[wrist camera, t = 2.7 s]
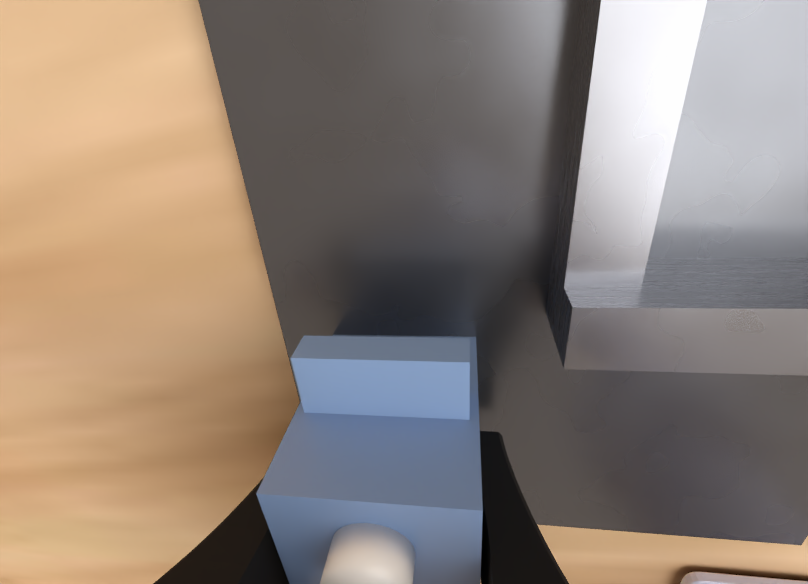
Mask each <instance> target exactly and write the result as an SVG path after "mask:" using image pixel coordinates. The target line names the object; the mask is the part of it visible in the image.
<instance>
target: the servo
mask: <svg viewBox="0 0 808 584" xmlns="http://www.w3.org/2000/svg"><path fill="white" fill-rule="evenodd" d="M291 362H292V366H293V370H294V374H295V378H296V382H297V386H298V390H299V394H300V398H301V402H300V404H299V406H298V408H297V410H296V412H295V414H294V416H293V418H292V420H291V422H290V425H289V427H288V429H287V431H286V433H285V435H284V437H283V439H282V441H281V443H280V445H279V447H278V449H277V452H276V454H275V456H274V458H273V460H272V462H271V464H270V466H269V468H268V470H267V472H266V474H265V476H264V478H263V481H262V483H261V485H260V487H259V489H258V491H257V493H256V495H257V497H258V500H259V503H260V506H261V508H262V511H263V514H264V516H265V519H266V522H267V524H268V527H269V530H270V532H271V535H272V538H273V540H274V543H275V546H276V549H277V551H278V554H279V557H280V559H281V562H282V565H283V567H284V570H285V573H286V575H287V578H288V581H289V584H480V580H481V549H482V519H483V504H482V478H481V453H480V427H479V401H478V375H477V349H476V337H455V336H392V335H332V336H305V335H304V336H303V338H302V339H301V341H300V343H299V344H298V346H297V348H296V350H295V351H294V353H293V355H292V356H291Z"/></svg>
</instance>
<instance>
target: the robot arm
mask: <svg viewBox="0 0 808 584" xmlns="http://www.w3.org/2000/svg"><path fill="white" fill-rule="evenodd" d="M480 453H481V478H482V504H483V519H482V549H481V584H569V583H568V581H567V579H566V578H565V576H564V574H563V573H562V571H561V569H560V567H559V566H558V564H557V562H556V560H555V558H554V557H553V555H552V553H551V551H550V549H549V547H548V545H547V544H546V542H545V540H544V538H543V536H542V534H541V532H540V530H539V528H538V526H537V524H536V522H535V520H534V518H533V516H532V514H531V511H530V509H529V507H528V505H527V503H526V500H525V498H524V496H523V494H522V492H521V489H520V487H519V484H518V482H517V480H516V477H515V474H514V472H513V469H512V467H511V464H510V461H509V458H508V455H507V452H506V449H505V445H504V441H503V437H502V435H501V434H500V433H499V432H492V431H480ZM262 481H263V479H262V480H261V481H260V482H259V483H258V485H257V486H256V487H255V488H254V489H253V490H252V491H251V492H250V493H249V495H248V496H247V497H246V498H245V499H244V500H243V501H242V502H241V503H240V504H239V505H238V506H237V507H236V508H235V509H234V510H233V511H232V512H231V513H230V515H229V516H228V517H227V518H226V519H225V520H224V521H223V522H222V523H221V524H220V525H219V526H218V527H217V528H216V529H215V530H213V531H212V532H211V533H210V534H209V535H208V536H207V537H206V538H205V539H204V540H203V541H202V542H201V543H200V544H199V545H198V546H196V547H195V548H194V549H193V550H192V551H191V552H190V553H189V554H188V555H186V556H185V557H184V558H183V559H182V560H181V561H180V562H178V563H177V564H176V565H175V566H174V567H173V568H171V569H170V570H169V571H168V572H167V573H166V574H164V575H163V576H162V577H161V578H160V579H158V580H157V581H156V582H155V583H154V584H289V581H288V578H287V575H286V573H285V570H284V567H283V565H282V562H281V559H280V557H279V554H278V551H277V549H276V546H275V543H274V540H273V538H272V535H271V532H270V530H269V527H268V524H267V522H266V519H265V516H264V514H263V511H262V508H261V506H260V503H259V500H258V497H257V495H256V493H257V491H258V489H259V487H260V485H261V483H262ZM680 584H808V581H799V580H788V579H777V578H766V577H754V576H743V575H732V574H721V573H710V572H690V573H688V574H686V575H685V576H684V577H683V579H682V581H681V583H680Z"/></svg>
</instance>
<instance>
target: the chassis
mask: <svg viewBox="0 0 808 584" xmlns="http://www.w3.org/2000/svg"><path fill="white" fill-rule="evenodd" d="M199 4H200V8H201V12H202V16H203V20H204V24H205V28H206V32H207V36H208V40H209V44H210V48H211V52H212V56H213V60H214V64H215V68H216V72H217V76H218V80H219V83H220V87H221V91H222V95H223V99H224V103H225V107H226V111H227V115H228V119H229V123H230V127H231V131H232V135H233V139H234V143H235V147H236V151H237V155H238V159H239V163H240V167H241V171H242V175H243V179H244V182H245V186H246V190H247V194H248V198H249V202H250V206H251V210H252V214H253V218H254V222H255V226H256V230H257V234H258V238H259V242H260V246H261V250H262V254H263V258H264V262H265V266H266V270H267V274H268V277H269V281H270V285H271V289H272V293H273V297H274V301H275V305H276V309H277V313H278V317H279V321H280V325H281V329H282V333H283V337H284V341H285V345H286V349H287V353H288V357H289V361H290V365H291V369H292V372H293V376H294V380H295V384H296V388H297V392H298V396H299V400H300V402H301V398H300V394H299V390H298V386H297V382H296V378H295V374H294V370H293V366H292V362H291V356H292V355H293V353H294V351H295V350H296V348H297V346H298V344H299V343H300V341H301V339H302V338H303V336H304V335H305V336H332V335H392V336H455V337H476V349H477V375H478V401H479V427H480V431H492V432H499V433H500V434H501V435H502V437H503V441H504V445H505V449H506V452H507V455H508V458H509V461H510V464H511V467H512V469H513V472H514V474H515V477H516V480H517V482H518V484H519V487H520V489H521V492H522V494H523V496H524V498H525V500H526V503H527V505H528V507H529V509H530V511H531V514H532V516H533V518H534V520H535V522H536V524H538V525H551V526H564V527H577V528H589V529H602V530H615V531H628V532H640V533H653V534H666V535H678V536H691V537H704V538H717V539H729V540H742V541H755V542H768V543H780V544H793V545H802V543H803V542H804V540H805V539H806V537H807V535H808V0H199Z"/></svg>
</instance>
